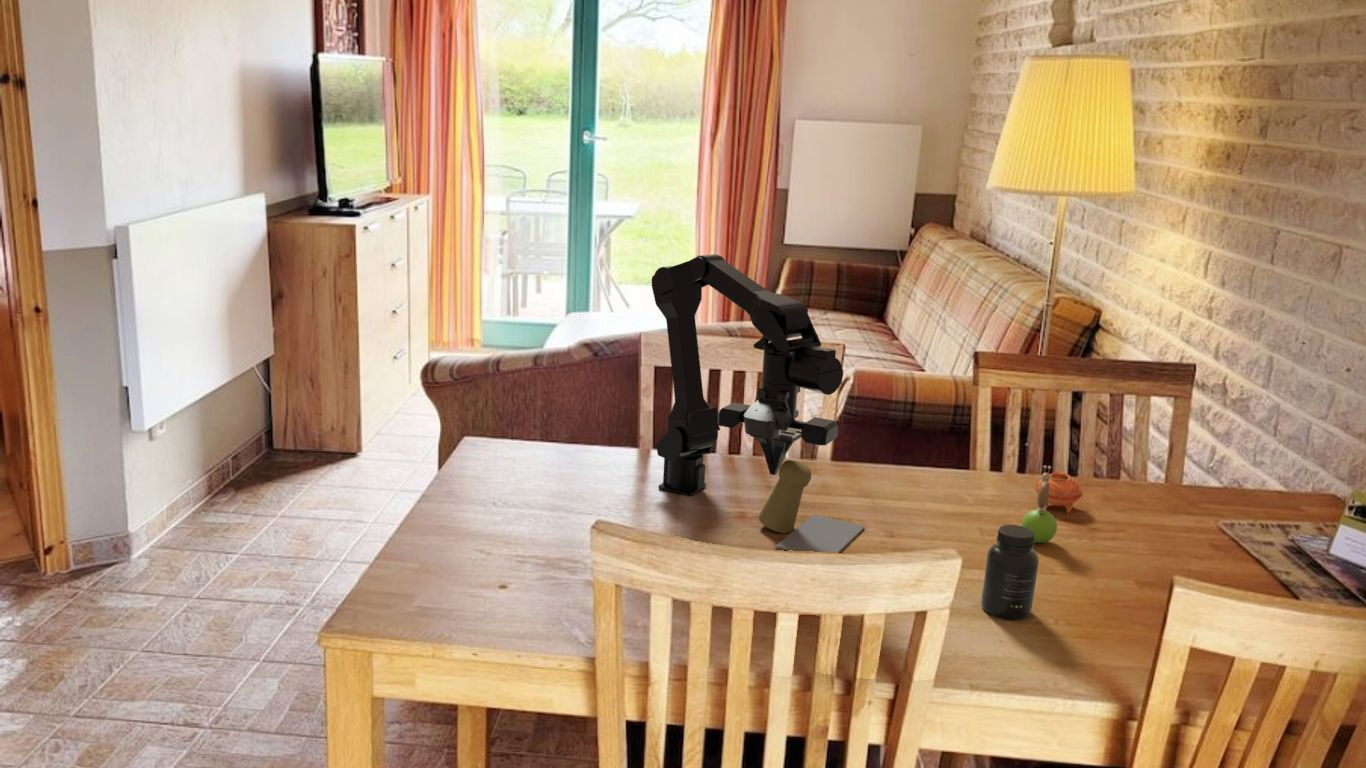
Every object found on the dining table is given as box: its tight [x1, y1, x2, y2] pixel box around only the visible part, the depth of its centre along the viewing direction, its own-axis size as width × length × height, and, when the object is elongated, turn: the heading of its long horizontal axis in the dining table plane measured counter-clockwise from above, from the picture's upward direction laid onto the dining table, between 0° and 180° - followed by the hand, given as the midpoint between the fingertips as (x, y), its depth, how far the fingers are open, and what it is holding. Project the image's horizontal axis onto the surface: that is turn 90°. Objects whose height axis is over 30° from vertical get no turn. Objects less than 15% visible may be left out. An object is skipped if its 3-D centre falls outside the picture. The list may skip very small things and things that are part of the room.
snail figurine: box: [1021, 465, 1058, 544], centre depth 173 cm, size 5×6×12 cm
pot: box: [1034, 471, 1083, 514], centre depth 190 cm, size 8×8×7 cm
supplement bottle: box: [980, 524, 1040, 621], centre depth 148 cm, size 7×7×12 cm
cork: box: [758, 459, 812, 534], centre depth 172 cm, size 6×6×11 cm
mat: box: [775, 513, 865, 553], centre depth 171 cm, size 9×16×1 cm, turn 152°
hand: (773, 474), depth 173 cm, fingers closed
